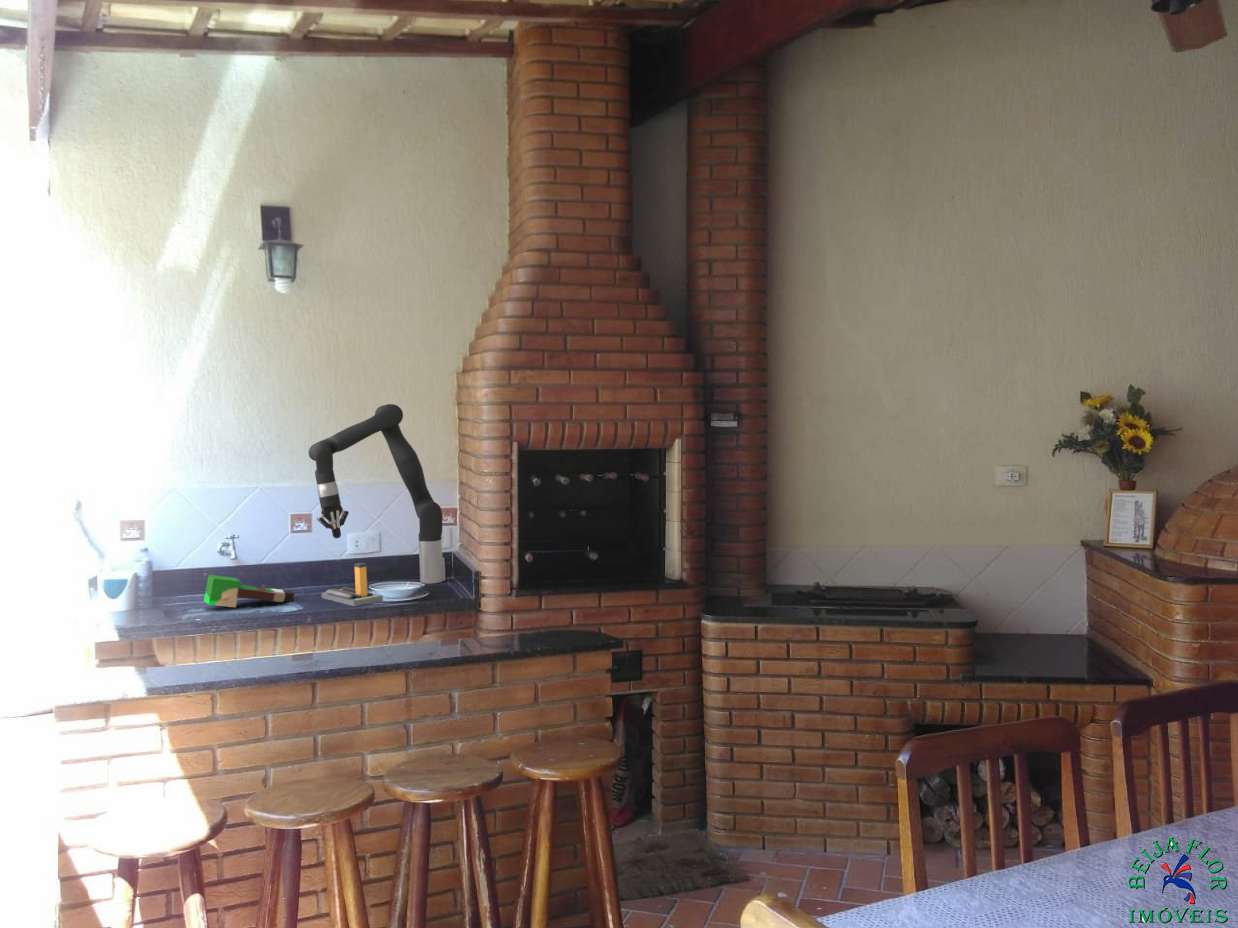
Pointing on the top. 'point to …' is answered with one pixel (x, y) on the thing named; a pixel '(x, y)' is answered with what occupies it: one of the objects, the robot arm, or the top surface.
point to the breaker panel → (352, 601)
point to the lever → (361, 579)
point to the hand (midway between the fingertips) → (337, 537)
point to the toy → (239, 592)
